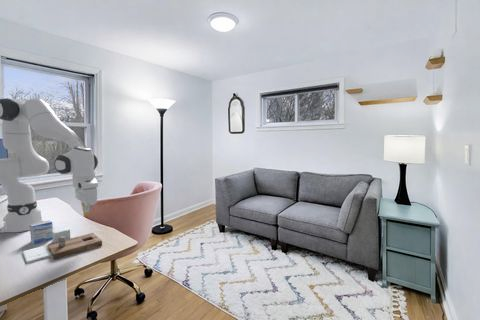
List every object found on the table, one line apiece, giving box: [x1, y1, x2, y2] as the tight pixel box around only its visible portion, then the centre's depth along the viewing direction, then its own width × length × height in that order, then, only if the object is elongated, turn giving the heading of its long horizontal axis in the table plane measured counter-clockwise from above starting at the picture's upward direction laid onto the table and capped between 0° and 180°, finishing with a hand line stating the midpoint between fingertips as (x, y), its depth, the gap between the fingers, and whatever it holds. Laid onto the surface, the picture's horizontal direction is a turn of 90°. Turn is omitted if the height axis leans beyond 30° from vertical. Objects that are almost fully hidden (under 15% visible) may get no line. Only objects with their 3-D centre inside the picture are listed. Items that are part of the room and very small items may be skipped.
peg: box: [82, 203, 90, 217], centre depth 112 cm, size 2×2×6 cm
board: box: [47, 232, 103, 260], centre depth 110 cm, size 13×18×6 cm
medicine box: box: [29, 220, 54, 245], centre depth 117 cm, size 8×4×9 cm, turn 143°
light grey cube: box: [51, 226, 71, 243], centre depth 116 cm, size 6×6×6 cm
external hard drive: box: [22, 244, 53, 264], centre depth 103 cm, size 2×8×12 cm
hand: (86, 211), depth 112 cm, fingers closed on peg, 2 cm apart
